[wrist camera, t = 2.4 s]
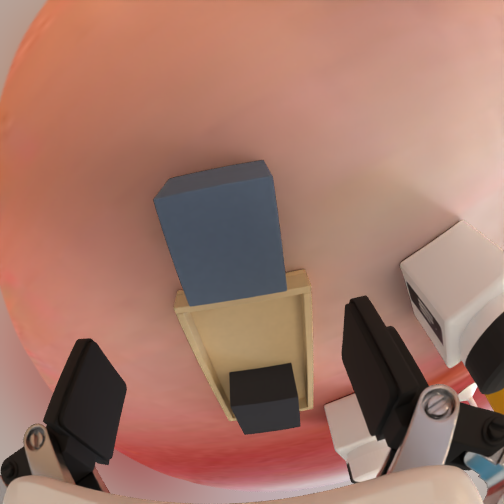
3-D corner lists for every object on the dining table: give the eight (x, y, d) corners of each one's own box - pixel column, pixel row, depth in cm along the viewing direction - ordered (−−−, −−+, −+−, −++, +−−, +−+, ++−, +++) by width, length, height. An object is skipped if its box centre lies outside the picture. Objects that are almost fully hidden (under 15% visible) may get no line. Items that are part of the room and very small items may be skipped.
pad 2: (229, 372, 25) (229, 406, 22) (291, 362, 25) (298, 396, 22) (242, 405, 29) (244, 434, 25) (294, 397, 29) (300, 426, 25)
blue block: (168, 178, 17) (152, 199, 13) (263, 159, 17) (272, 175, 13) (195, 271, 20) (189, 307, 17) (277, 256, 20) (287, 291, 17)
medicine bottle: (379, 403, 34) (403, 470, 23) (334, 421, 35) (352, 490, 24) (374, 383, 30) (404, 462, 20) (322, 404, 32) (343, 486, 21)
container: (413, 314, 25) (473, 417, 13) (397, 262, 21) (486, 384, 10) (468, 274, 23) (540, 359, 12) (462, 216, 19) (564, 306, 8)
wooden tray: (177, 290, 21) (173, 308, 19) (304, 268, 21) (311, 285, 19) (228, 406, 30) (229, 421, 28) (309, 394, 30) (313, 408, 28)
